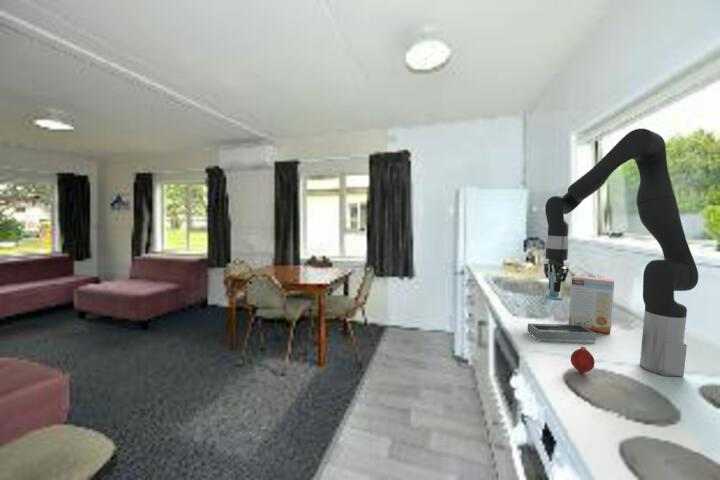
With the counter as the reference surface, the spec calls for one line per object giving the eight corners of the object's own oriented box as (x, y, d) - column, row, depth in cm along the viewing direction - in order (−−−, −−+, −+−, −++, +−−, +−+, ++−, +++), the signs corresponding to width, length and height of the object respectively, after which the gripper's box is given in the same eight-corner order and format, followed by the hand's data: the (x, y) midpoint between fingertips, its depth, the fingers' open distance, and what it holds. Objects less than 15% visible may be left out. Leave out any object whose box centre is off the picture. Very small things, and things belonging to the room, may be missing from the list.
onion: (571, 366, 103) (573, 340, 102) (594, 372, 99) (596, 346, 98) (568, 373, 98) (570, 346, 98) (592, 379, 95) (594, 352, 94)
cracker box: (610, 330, 136) (615, 279, 134) (610, 334, 131) (614, 281, 129) (569, 323, 145) (573, 274, 143) (568, 326, 140) (571, 276, 138)
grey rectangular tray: (595, 343, 122) (595, 333, 122) (538, 341, 123) (539, 331, 122) (579, 334, 131) (580, 324, 131) (527, 332, 132) (527, 323, 131)
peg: (565, 300, 132) (567, 275, 131) (550, 300, 132) (551, 274, 131) (557, 296, 138) (558, 272, 137) (542, 296, 138) (543, 272, 137)
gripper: (577, 249, 127) (574, 295, 128) (556, 246, 141) (554, 287, 142) (557, 248, 127) (554, 294, 128) (538, 245, 141) (535, 286, 142)
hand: (554, 290), depth 135 cm, fingers closed on peg, 3 cm apart
